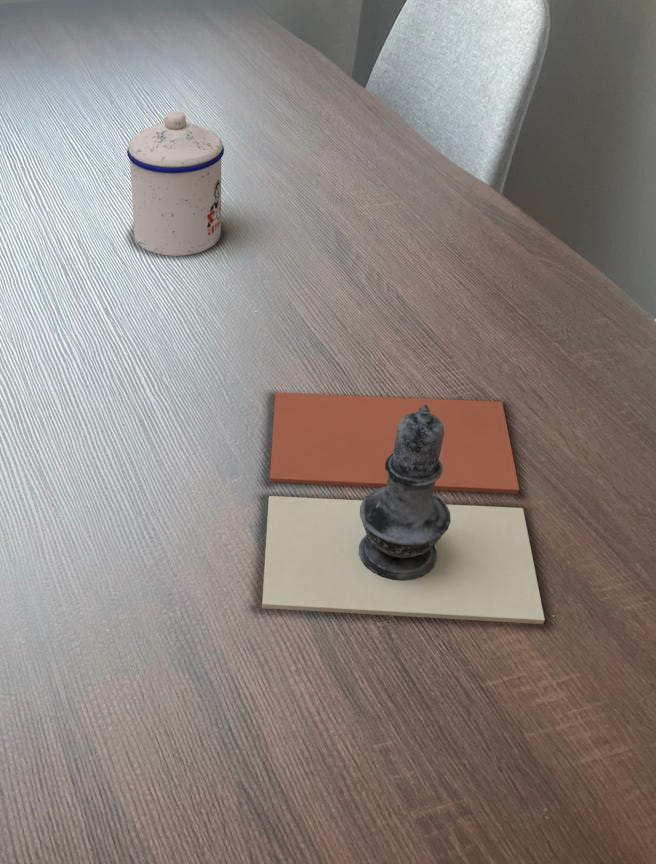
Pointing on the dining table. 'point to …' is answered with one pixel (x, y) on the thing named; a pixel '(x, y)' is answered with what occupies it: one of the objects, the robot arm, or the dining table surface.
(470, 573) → the cream mat
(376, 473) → the terracotta mat
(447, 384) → the dining table surface
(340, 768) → the dining table surface
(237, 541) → the dining table surface
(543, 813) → the dining table surface
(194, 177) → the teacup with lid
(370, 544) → the dark grey chess piece
